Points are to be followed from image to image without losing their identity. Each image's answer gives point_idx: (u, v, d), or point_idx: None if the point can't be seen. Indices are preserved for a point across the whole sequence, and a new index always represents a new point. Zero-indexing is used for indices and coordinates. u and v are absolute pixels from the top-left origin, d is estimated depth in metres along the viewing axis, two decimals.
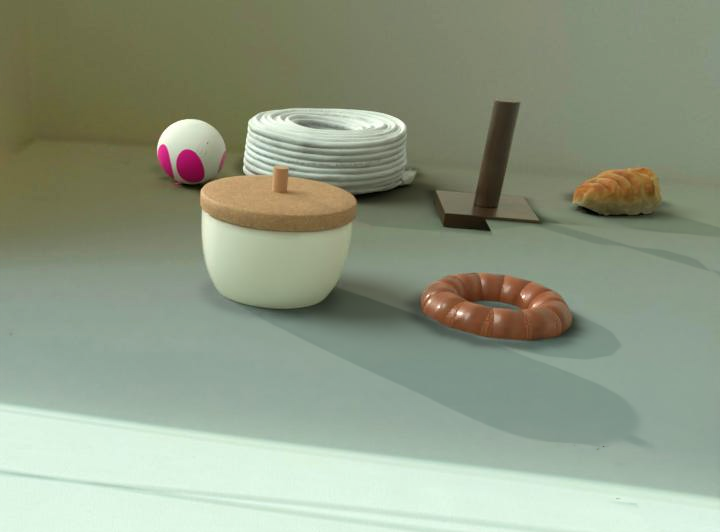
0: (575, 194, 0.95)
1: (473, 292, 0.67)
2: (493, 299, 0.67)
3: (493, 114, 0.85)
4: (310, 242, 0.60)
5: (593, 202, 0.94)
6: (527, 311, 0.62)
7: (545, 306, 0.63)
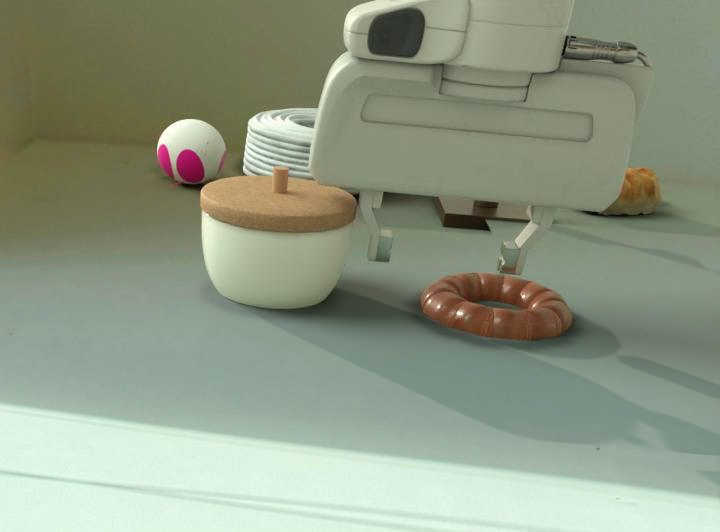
0: None
1: (473, 292, 0.67)
2: (493, 299, 0.67)
3: None
4: (310, 243, 0.60)
5: None
6: (527, 311, 0.62)
7: (545, 306, 0.63)
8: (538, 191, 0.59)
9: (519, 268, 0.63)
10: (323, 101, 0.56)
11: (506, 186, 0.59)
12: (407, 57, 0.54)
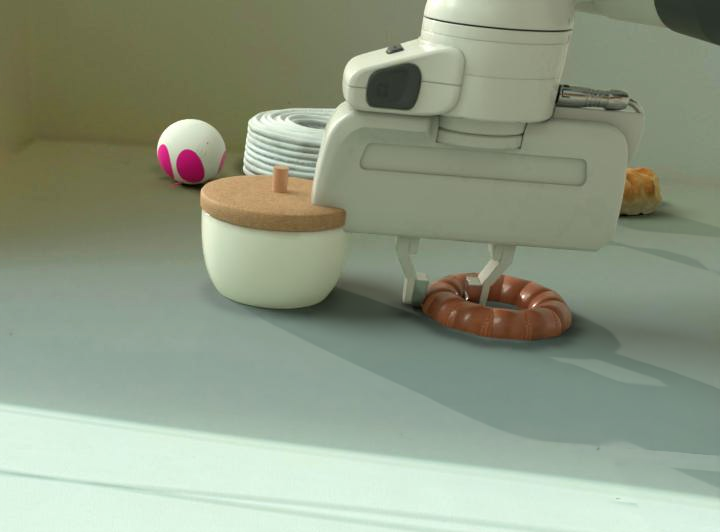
0: None
1: None
2: (493, 299, 0.67)
3: None
4: (310, 242, 0.60)
5: None
6: (527, 311, 0.62)
7: (545, 306, 0.63)
8: (534, 233, 0.60)
9: (482, 303, 0.64)
10: (323, 151, 0.58)
11: (503, 229, 0.60)
12: (404, 109, 0.55)
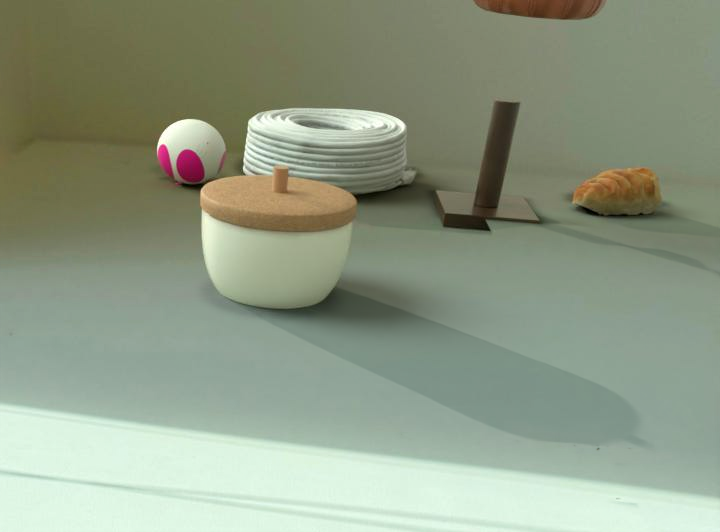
0: (575, 194, 0.95)
1: None
2: None
3: (493, 114, 0.85)
4: (310, 242, 0.60)
5: (593, 202, 0.94)
6: None
7: None
8: None
9: None
10: None
11: None
12: None
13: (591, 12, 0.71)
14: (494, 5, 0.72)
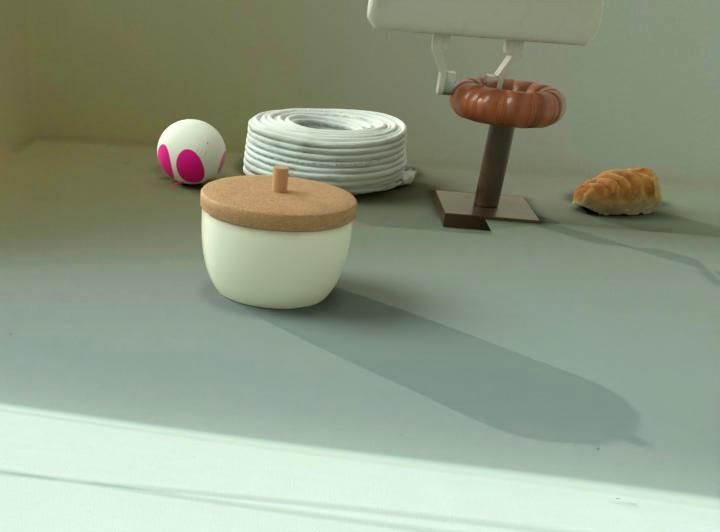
0: (575, 194, 0.95)
1: None
2: None
3: None
4: (310, 242, 0.60)
5: (593, 202, 0.94)
6: (532, 92, 0.81)
7: (546, 91, 0.82)
8: (538, 29, 0.80)
9: None
10: None
11: (514, 26, 0.80)
12: None
13: (551, 122, 0.83)
14: (468, 115, 0.83)
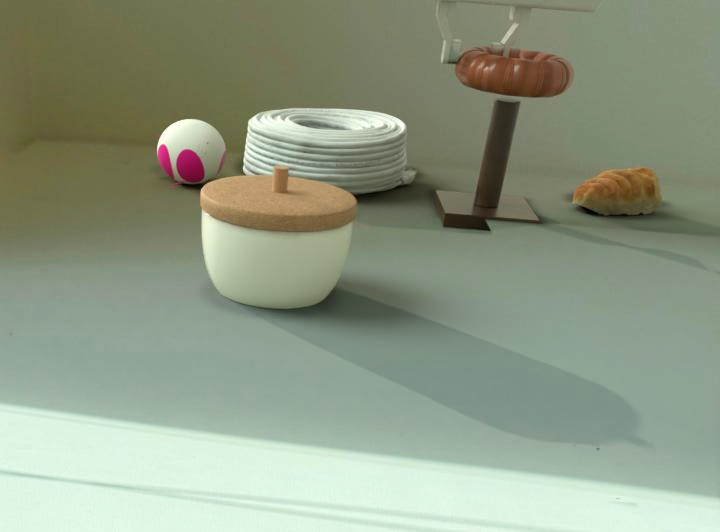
0: (575, 194, 0.95)
1: None
2: None
3: (493, 114, 0.85)
4: (310, 242, 0.60)
5: (593, 202, 0.94)
6: (539, 60, 0.80)
7: (553, 60, 0.81)
8: None
9: None
10: None
11: None
12: None
13: (559, 91, 0.81)
14: (474, 84, 0.81)
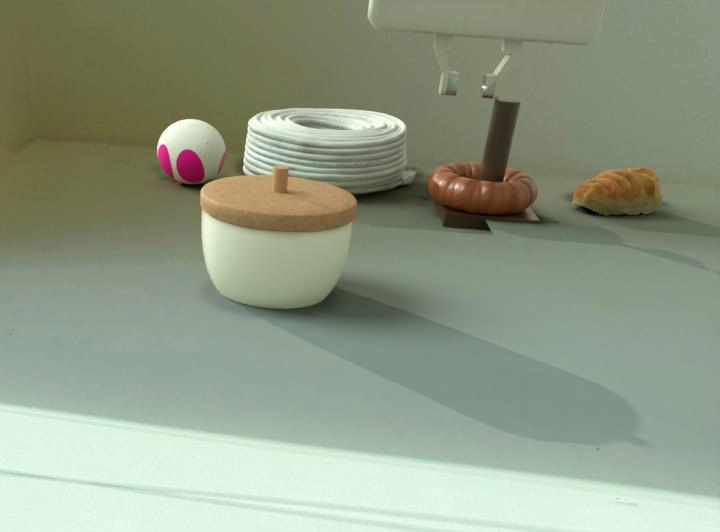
0: (575, 194, 0.95)
1: (465, 175, 0.91)
2: None
3: (493, 114, 0.85)
4: (310, 242, 0.60)
5: (593, 202, 0.94)
6: (505, 182, 0.86)
7: (518, 180, 0.87)
8: (538, 29, 0.80)
9: (496, 92, 0.84)
10: None
11: (515, 26, 0.80)
12: None
13: (524, 209, 0.88)
14: (445, 202, 0.88)
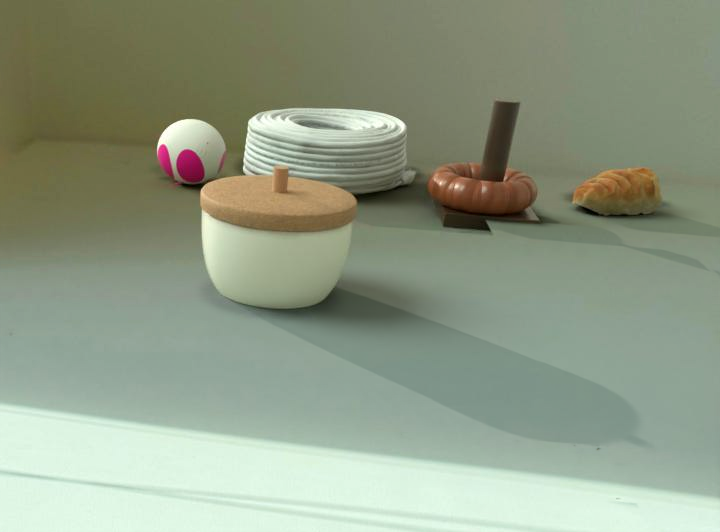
0: (575, 194, 0.95)
1: (465, 176, 0.91)
2: None
3: (493, 114, 0.85)
4: (310, 242, 0.60)
5: (593, 202, 0.94)
6: (505, 182, 0.86)
7: (518, 180, 0.87)
8: None
9: None
10: None
11: None
12: None
13: (524, 208, 0.88)
14: (445, 202, 0.88)
